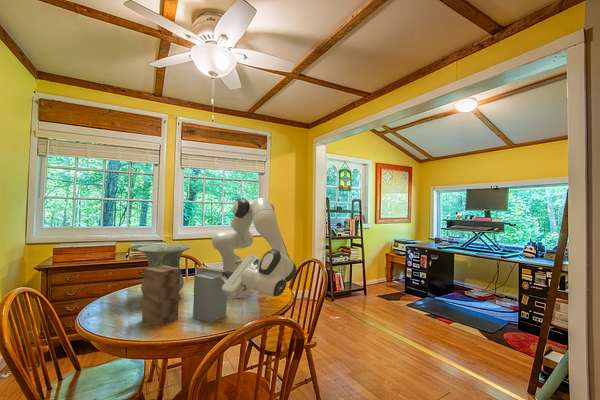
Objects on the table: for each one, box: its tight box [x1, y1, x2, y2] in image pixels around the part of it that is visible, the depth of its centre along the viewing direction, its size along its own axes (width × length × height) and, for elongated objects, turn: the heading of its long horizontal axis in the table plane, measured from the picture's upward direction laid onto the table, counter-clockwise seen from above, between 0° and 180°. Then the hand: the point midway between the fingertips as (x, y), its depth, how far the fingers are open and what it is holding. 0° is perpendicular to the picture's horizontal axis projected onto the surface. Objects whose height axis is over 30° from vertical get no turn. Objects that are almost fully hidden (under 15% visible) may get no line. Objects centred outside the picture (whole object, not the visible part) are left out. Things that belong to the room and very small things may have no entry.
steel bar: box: [196, 265, 233, 280], centre depth 133 cm, size 3×22×3 cm, turn 59°
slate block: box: [192, 273, 228, 324], centre depth 133 cm, size 10×12×20 cm
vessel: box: [136, 243, 191, 301], centre depth 154 cm, size 27×27×30 cm
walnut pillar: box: [141, 265, 181, 328], centre depth 127 cm, size 10×12×24 cm
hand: (229, 269), depth 124 cm, fingers open, 8 cm apart
